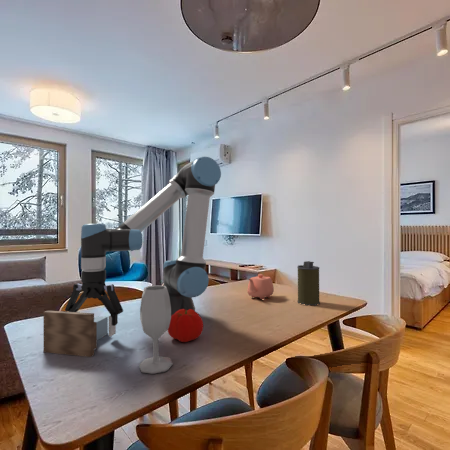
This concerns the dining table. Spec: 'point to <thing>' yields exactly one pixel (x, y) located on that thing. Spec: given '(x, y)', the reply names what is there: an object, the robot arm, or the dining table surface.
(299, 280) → the canister
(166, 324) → the wineglass
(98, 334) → the rail
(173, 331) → the tomato
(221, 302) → the dining table surface
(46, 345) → the panel
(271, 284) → the teapot
